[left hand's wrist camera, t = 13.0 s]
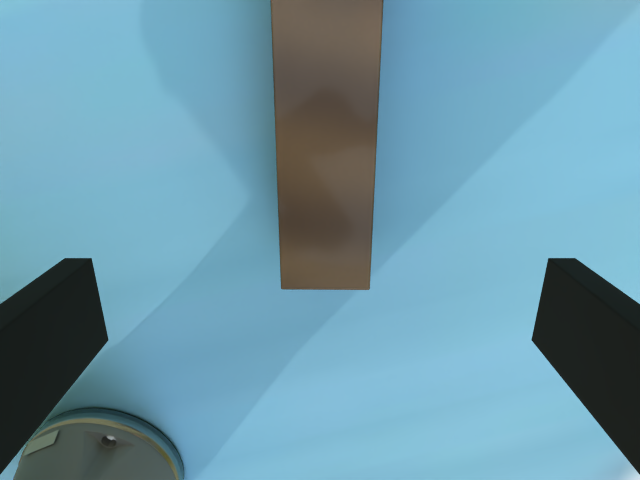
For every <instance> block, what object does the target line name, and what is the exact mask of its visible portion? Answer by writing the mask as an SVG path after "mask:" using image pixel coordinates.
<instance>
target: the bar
mask: <svg viewBox="0 0 640 480" xmlns="http://www.w3.org/2000/svg"><path fill="white" fill-rule="evenodd" d="M382 18H383V0H271V23H272V51H273V78H274V106H275V134H276V161H277V189H278V217H279V244H280V272H281V289H321V290H369V289H370V271H371V250H372V229H373V207H374V186H375V165H376V144H377V123H378V102H379V81H380V60H381V39H382Z"/></svg>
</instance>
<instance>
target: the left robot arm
mask: <svg viewBox="0 0 640 480" xmlns="http://www.w3.org/2000/svg"><path fill="white" fill-rule="evenodd" d="M107 341H108V336H107V331H106V326H105V321H104V316H103V312H102V307H101V302H100V297H99V292H98V287H97V282H96V277H95V273H94V268H93V263H92V258H65V259H63V260H62V261H60V262H59V263H58V264H56V265H55V266H53V267H52V268H51V269H49V270H48V271H46V272H45V273H44V274H42V275H41V276H39V277H38V278H36V279H35V280H34V281H32V282H31V283H29V284H28V285H27V286H25V287H24V288H22V289H21V290H20V291H18V292H17V293H15V294H14V295H13V296H11V297H10V298H8V299H7V300H6V301H4V302H3V303H1V304H0V474H1V473H2V472H3V470H4V469H5V468H6V467H7V465H8V464H9V463H10V462H11V461H12V459H13V458H14V457H15V456H16V454H17V453H18V452H19V451H20V449H21V448H22V447H23V446H24V444H25V443H26V442H27V441H28V439H29V438H30V437H31V436H32V434H33V433H34V432H35V431H36V429H37V428H38V427H39V426H40V424H41V423H42V422H43V421H44V419H45V418H46V417H47V416H48V415H49V413H50V412H51V411H52V410H53V408H54V407H55V406H56V405H57V403H58V402H59V401H60V400H61V398H62V397H63V396H64V395H65V393H66V392H67V391H68V390H69V388H70V387H71V386H72V385H73V383H74V382H75V381H76V380H77V378H78V377H79V376H80V375H81V373H82V372H83V371H84V370H85V368H86V367H87V366H88V365H89V364H90V362H91V361H92V360H93V359H94V357H95V356H96V355H97V354H98V352H99V351H100V350H101V349H102V347H103V346H104V345H105V344H106V342H107ZM532 341H533V342H534V344H535V345H536V346H537V347H538V349H539V350H540V351H541V352H542V354H543V355H544V356H545V357H546V359H547V360H548V361H549V362H550V364H551V365H552V366H553V367H554V368H555V370H556V371H557V372H558V373H559V375H560V376H561V377H562V378H563V380H564V381H565V382H566V383H567V385H568V386H569V387H570V388H571V390H572V391H573V392H574V393H575V395H576V396H577V397H578V398H579V400H580V401H581V402H582V403H583V405H584V406H585V407H586V408H587V410H588V411H589V412H590V413H591V415H592V416H593V417H594V418H595V419H596V421H597V422H598V423H599V424H600V426H601V427H602V428H603V429H604V431H605V432H606V433H607V434H608V436H609V437H610V438H611V439H612V441H613V442H614V443H615V444H616V446H617V447H618V448H619V449H620V451H621V452H622V453H623V454H624V456H625V457H626V458H627V459H628V461H629V462H630V463H631V464H632V465H633V467H634V468H635V469H636V470H637V472H638V473H639V474H640V304H639V303H637V302H636V301H634V300H633V299H632V298H630V297H629V296H627V295H626V294H625V293H623V292H622V291H620V290H619V289H618V288H616V287H615V286H613V285H612V284H611V283H609V282H608V281H606V280H605V279H604V278H602V277H601V276H599V275H598V274H596V273H595V272H594V271H592V270H591V269H589V268H588V267H587V266H585V265H584V264H582V263H581V262H580V261H578V260H577V259H575V258H548V263H547V268H546V273H545V277H544V282H543V287H542V292H541V297H540V302H539V307H538V312H537V316H536V321H535V326H534V331H533V336H532ZM13 480H184V470H183V465H182V461H181V459H180V456H179V454H178V452H177V451H176V449H175V448H174V446H173V445H172V444H171V442H170V441H169V440H168V439H167V438H166V437H165V436H164V435H163V434H162V433H161V432H159V431H158V430H157V429H155V428H154V427H153V426H151V425H149V424H148V423H146V422H144V421H142V420H140V419H138V418H136V417H134V416H131V415H128V414H125V413H122V412H118V411H113V410H108V409H95V408H90V409H79V410H73V411H69V412H66V413H63V414H60V415H58V416H56V417H54V418H52V419H51V420H49V421H48V422H47V423H45V424H44V425H43V426H42V427H41V428H40V430H39V431H38V432H37V433H36V435H35V436H34V437H33V438H32V440H31V441H30V442H29V443H28V445H27V446H26V447H25V449H24V451H23V453H22V456H21V459H20V461H19V465H18V469H17V471H16V473H15V476H14V478H13Z"/></svg>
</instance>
